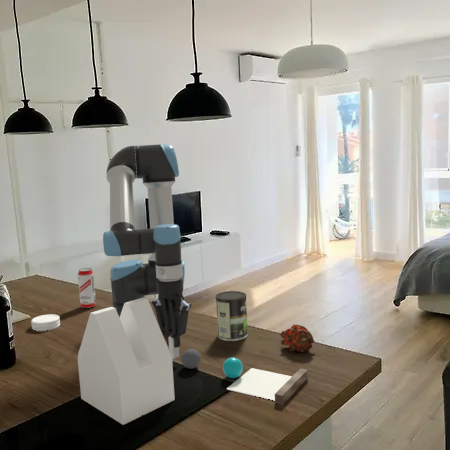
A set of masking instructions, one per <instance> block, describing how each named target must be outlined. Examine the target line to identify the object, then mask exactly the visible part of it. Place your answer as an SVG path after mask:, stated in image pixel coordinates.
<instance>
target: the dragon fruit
mask: <svg viewBox="0 0 450 450" xmlns="http://www.w3.org/2000/svg"><path fill="white" fill-rule="evenodd" d="M280 337H281V338H282V339H280V345H282V346H286V347H287V346H288V347H289V348H288V350H289V351H291V352H295V351H297V352H299V353H304V352H305V351H306V350H307V351H308V350H309V351H310V350H311V349H312V348H313V343H315V340H314V337H313V334H312V332H311V331H309V330H308V328H306V327H305V326H304V325H300V324H292V326H291V327H290V328H287V329H285V330H283V331H281V333H280Z"/></svg>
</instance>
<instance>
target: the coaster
mask: <svg viewBox="0 0 450 450" xmlns="http://www.w3.org/2000/svg"><path fill="white" fill-rule="evenodd" d="M60 318H61V317H60V315H58V314H54V313H52V314H48V313H47V314H42V315H38V316H36V317H33V318H32V319H31V320H30V323H31V330H32V329H33V330H32V331H34V330H36V331H35V332H48V331H52V330H55V329H58V328H59V327H60V326H61V320H60ZM47 330H48V331H47Z"/></svg>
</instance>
